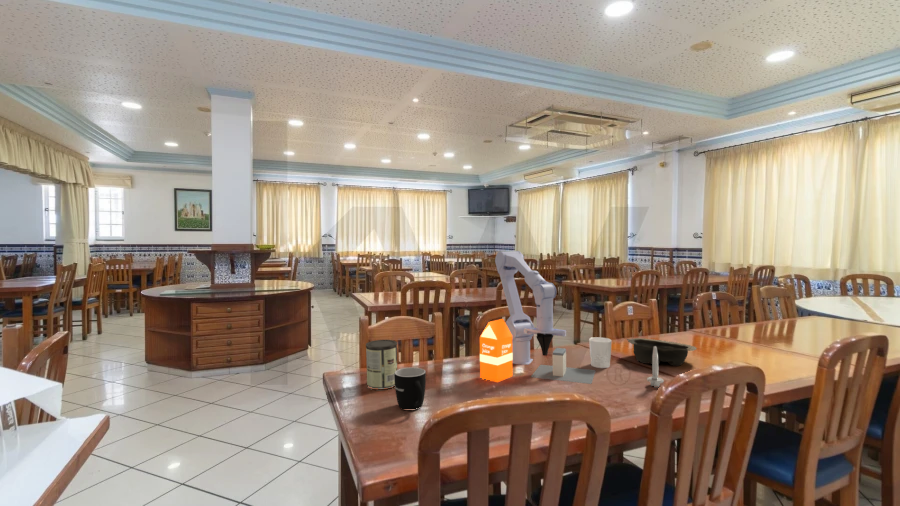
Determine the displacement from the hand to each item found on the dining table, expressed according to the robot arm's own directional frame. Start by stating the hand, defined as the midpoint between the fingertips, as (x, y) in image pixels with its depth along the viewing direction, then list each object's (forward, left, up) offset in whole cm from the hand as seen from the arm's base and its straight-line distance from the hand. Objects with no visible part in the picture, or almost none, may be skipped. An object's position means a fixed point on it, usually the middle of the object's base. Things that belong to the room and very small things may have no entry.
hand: (545, 354), depth 155 cm
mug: (-28, -47, -6) cm, 55 cm away
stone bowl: (+39, +31, -7) cm, 50 cm away
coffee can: (-47, -33, -7) cm, 58 cm away
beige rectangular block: (+5, 0, -6) cm, 8 cm away
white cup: (+18, +15, -7) cm, 24 cm away
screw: (+35, -2, -6) cm, 36 cm away
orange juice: (-15, -12, -7) cm, 20 cm away
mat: (+7, 0, -6) cm, 9 cm away
